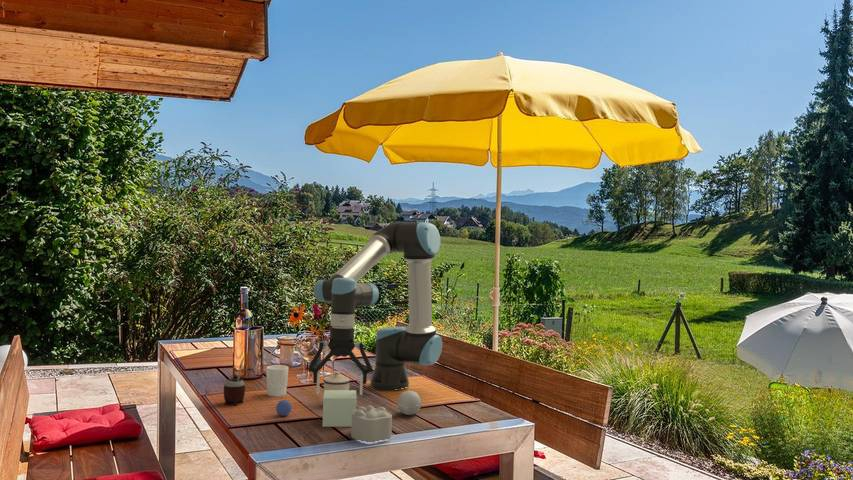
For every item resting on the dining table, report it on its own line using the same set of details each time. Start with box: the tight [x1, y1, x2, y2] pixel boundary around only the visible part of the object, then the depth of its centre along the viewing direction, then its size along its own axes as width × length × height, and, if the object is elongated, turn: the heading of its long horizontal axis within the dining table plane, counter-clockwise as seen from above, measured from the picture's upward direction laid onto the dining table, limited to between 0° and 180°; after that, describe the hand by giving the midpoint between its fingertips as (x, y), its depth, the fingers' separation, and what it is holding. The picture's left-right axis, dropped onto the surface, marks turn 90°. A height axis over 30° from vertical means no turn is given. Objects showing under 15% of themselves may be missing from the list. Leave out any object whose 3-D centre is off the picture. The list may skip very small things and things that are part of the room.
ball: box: [275, 399, 293, 417], centre depth 214 cm, size 5×5×5 cm
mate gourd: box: [223, 356, 246, 407], centre depth 227 cm, size 8×8×15 cm
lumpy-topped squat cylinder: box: [350, 404, 393, 442], centre depth 196 cm, size 10×13×9 cm
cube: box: [322, 389, 358, 428], centre depth 209 cm, size 10×10×9 cm
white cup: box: [265, 364, 290, 397], centre depth 240 cm, size 8×8×10 cm
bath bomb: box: [397, 390, 422, 416], centre depth 220 cm, size 8×8×8 cm
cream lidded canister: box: [323, 370, 351, 391], centre depth 230 cm, size 12×9×12 cm
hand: (339, 393), depth 209 cm, fingers open, 13 cm apart
